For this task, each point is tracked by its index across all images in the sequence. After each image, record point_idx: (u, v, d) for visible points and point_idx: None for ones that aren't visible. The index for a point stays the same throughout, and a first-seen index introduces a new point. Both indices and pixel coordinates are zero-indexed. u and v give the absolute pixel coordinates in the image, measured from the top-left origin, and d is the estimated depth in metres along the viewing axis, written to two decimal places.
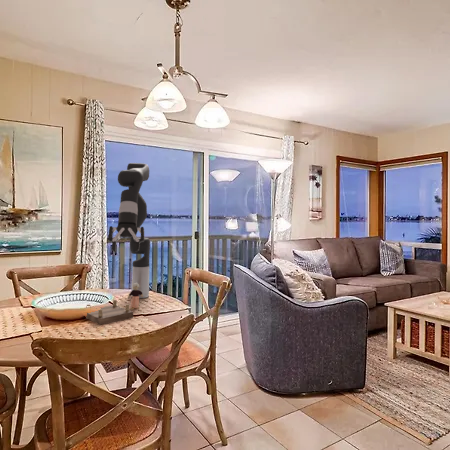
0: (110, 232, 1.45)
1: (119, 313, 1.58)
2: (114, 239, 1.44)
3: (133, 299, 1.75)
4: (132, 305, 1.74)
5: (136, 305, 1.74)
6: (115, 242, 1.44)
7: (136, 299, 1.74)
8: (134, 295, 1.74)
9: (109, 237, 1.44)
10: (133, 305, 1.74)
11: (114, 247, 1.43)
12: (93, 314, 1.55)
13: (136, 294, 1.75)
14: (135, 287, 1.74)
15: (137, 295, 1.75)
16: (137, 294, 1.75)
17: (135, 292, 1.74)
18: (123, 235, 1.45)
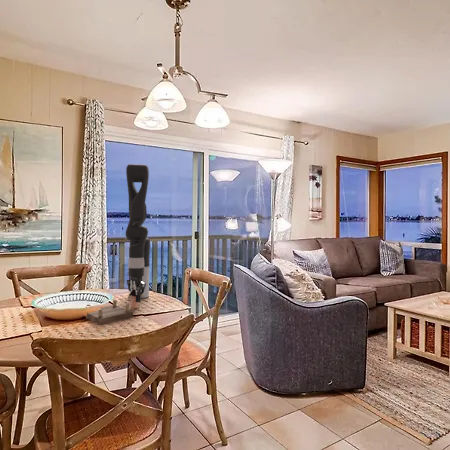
0: (128, 285, 1.78)
1: (119, 313, 1.58)
2: None
3: (133, 299, 1.75)
4: (132, 305, 1.74)
5: (136, 305, 1.74)
6: None
7: None
8: (134, 295, 1.74)
9: (129, 289, 1.77)
10: (133, 305, 1.74)
11: (131, 298, 1.76)
12: (93, 314, 1.55)
13: None
14: None
15: None
16: None
17: (135, 292, 1.74)
18: (134, 285, 1.75)
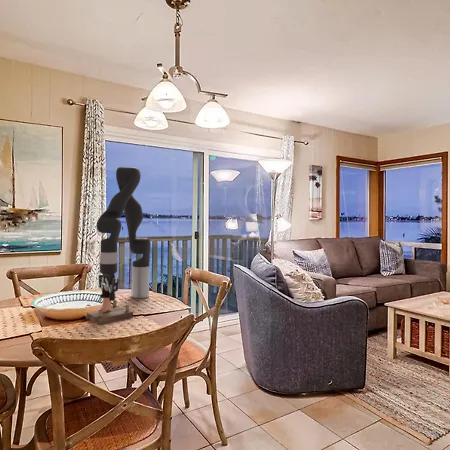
0: (99, 280, 1.63)
1: (119, 313, 1.58)
2: (101, 287, 1.62)
3: (105, 301, 1.60)
4: (104, 307, 1.60)
5: (108, 307, 1.59)
6: (102, 290, 1.61)
7: (108, 301, 1.60)
8: (106, 296, 1.59)
9: (99, 285, 1.63)
10: (105, 307, 1.60)
11: None
12: (93, 314, 1.55)
13: (108, 295, 1.60)
14: (107, 288, 1.59)
15: None
16: None
17: (107, 293, 1.60)
18: (105, 283, 1.60)
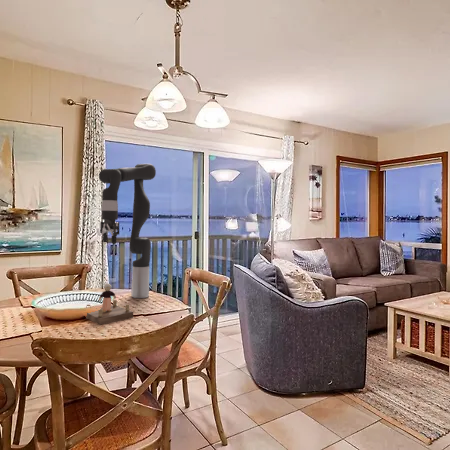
0: (101, 226, 1.78)
1: (119, 313, 1.58)
2: (102, 232, 1.77)
3: (105, 301, 1.60)
4: (103, 307, 1.60)
5: (108, 307, 1.59)
6: (103, 235, 1.77)
7: (108, 301, 1.60)
8: (106, 296, 1.59)
9: (100, 231, 1.78)
10: (105, 307, 1.60)
11: (103, 239, 1.77)
12: (93, 314, 1.55)
13: (108, 295, 1.60)
14: (107, 288, 1.59)
15: (109, 296, 1.60)
16: (109, 295, 1.60)
17: (107, 293, 1.60)
18: (106, 229, 1.75)
